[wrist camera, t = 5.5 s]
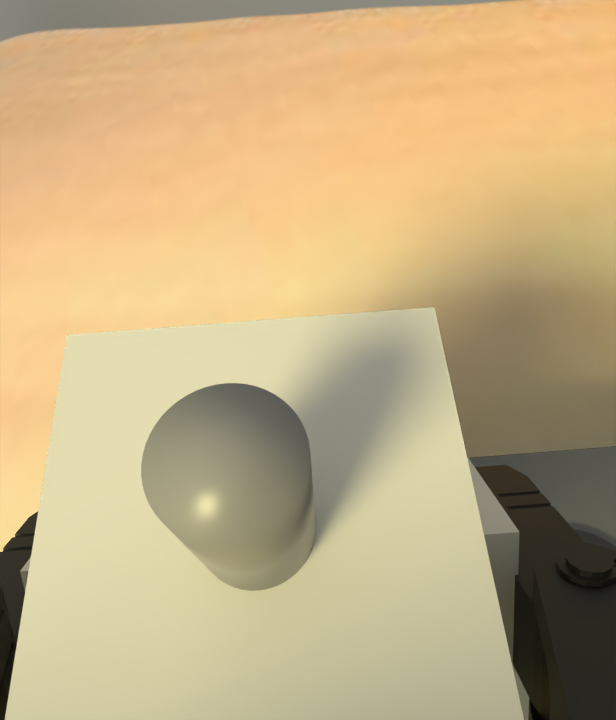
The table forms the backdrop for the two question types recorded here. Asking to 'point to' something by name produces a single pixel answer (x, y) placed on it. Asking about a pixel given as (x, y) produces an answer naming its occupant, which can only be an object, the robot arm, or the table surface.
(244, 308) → the table surface
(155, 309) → the table surface
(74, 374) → the white block with knob
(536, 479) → the power strip
